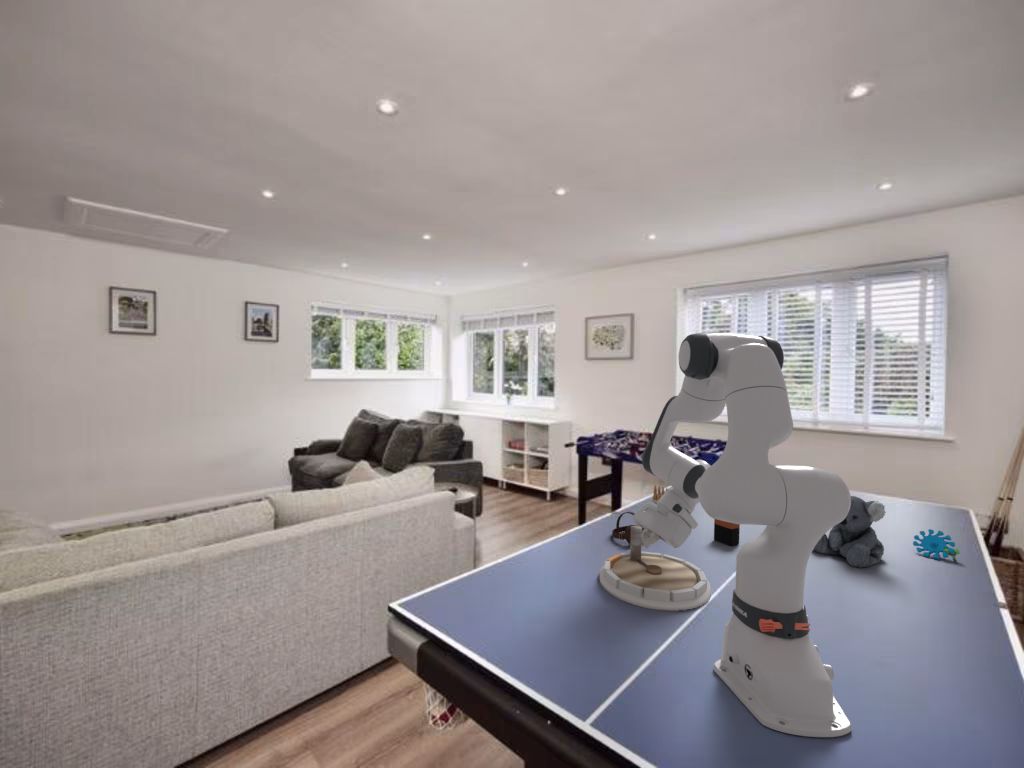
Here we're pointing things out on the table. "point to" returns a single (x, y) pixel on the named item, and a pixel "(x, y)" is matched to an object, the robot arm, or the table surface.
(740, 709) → the table surface
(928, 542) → the blue virus model
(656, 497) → the ammunition clip
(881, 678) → the table surface
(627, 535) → the goggles
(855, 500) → the koala plush
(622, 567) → the dial
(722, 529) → the battery
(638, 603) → the dial base
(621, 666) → the table surface
